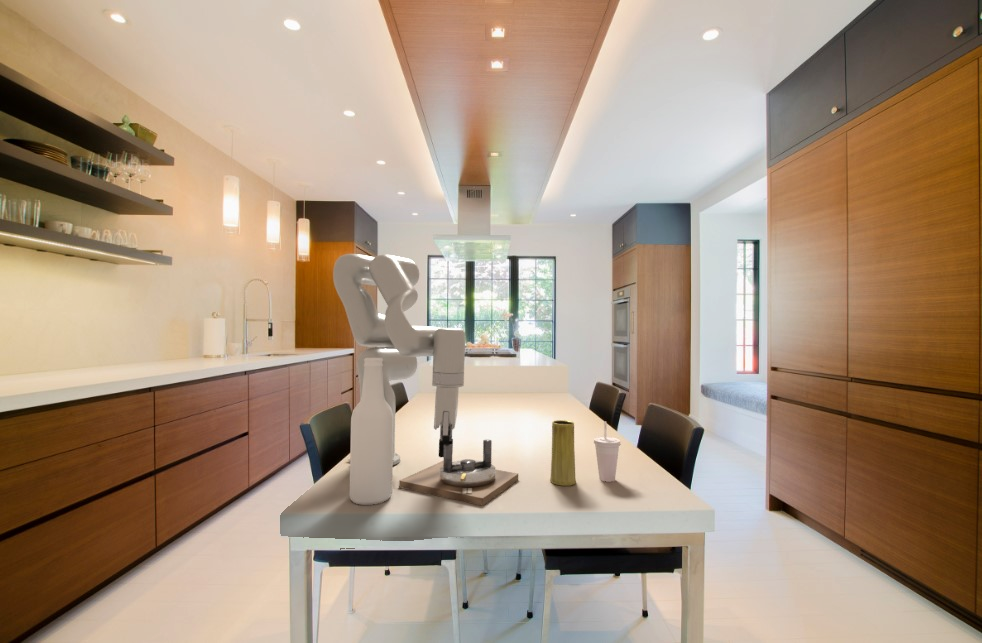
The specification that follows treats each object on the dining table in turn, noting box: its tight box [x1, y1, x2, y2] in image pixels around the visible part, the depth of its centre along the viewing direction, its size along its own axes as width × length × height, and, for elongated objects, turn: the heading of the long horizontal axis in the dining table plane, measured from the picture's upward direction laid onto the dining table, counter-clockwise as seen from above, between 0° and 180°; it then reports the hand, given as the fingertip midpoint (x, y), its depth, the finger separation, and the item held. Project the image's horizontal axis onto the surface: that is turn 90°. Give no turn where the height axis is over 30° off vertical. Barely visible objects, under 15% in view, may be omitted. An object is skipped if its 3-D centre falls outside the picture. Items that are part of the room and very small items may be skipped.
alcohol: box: [349, 358, 394, 506], centre depth 90 cm, size 9×9×30 cm
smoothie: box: [593, 421, 622, 483], centre depth 103 cm, size 6×6×14 cm
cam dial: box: [440, 439, 496, 487], centre depth 98 cm, size 13×14×8 cm
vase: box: [549, 419, 577, 487], centre depth 101 cm, size 6×6×14 cm
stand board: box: [398, 460, 519, 506], centre depth 99 cm, size 22×18×2 cm
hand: (445, 456), depth 100 cm, fingers closed
